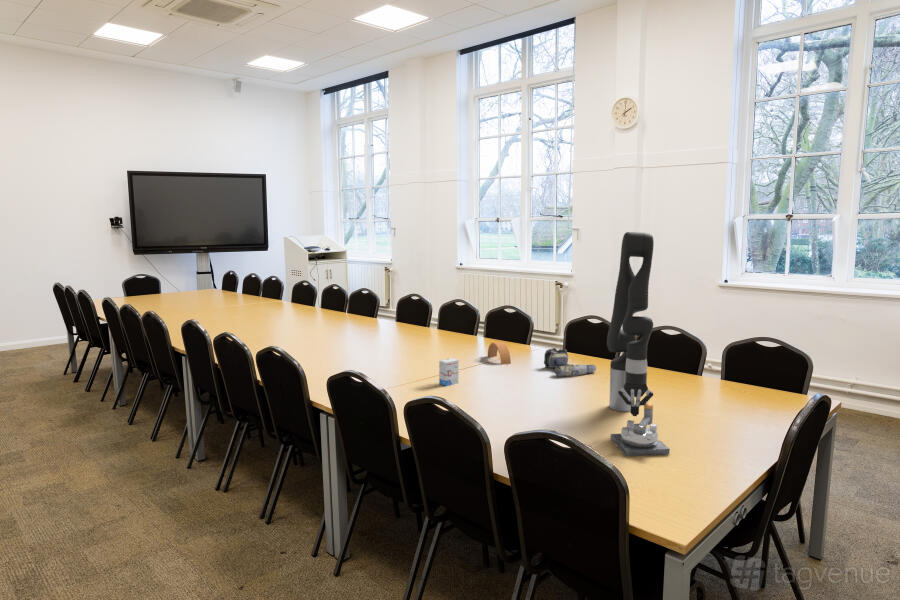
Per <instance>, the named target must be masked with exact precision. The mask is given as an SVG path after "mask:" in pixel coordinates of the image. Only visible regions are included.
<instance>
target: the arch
mask: <svg viewBox="0 0 900 600" xmlns="http://www.w3.org/2000/svg"><path fill="white" fill-rule="evenodd" d="M498 354H499V359H500V365H509V364H512V363H511V361H512V360H511V354H510V350H509V348H508V346H507V344H506V343H505V342H503V341H496V342H491V343H490V344H489V346H488V348H487V357H489V358H491V357H497V356H498Z"/></svg>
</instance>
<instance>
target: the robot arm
mask: <svg viewBox="0 0 900 600" xmlns="http://www.w3.org/2000/svg"><path fill="white" fill-rule="evenodd" d="M654 245H655V243H654V236H653V234H651V233H650V232H637V231H626V232H625V233H624V234H623V236H622V241H621V247H620V248H621V250H620V258H619V259H620V261H619V262H620V263H619V272H618V276H617V281H616V287H615V291H614V300H613V302H614V303H613V310H612V314H611V315H612V316H611V320H610V324H609V328H608V332H607V336H606V337H607V338H606V347H607V349H608V351H609V352H611V353H622V354H620V356H617V357H615V358H613V359H611V360H610V368H609V369H610V370H609V371H610V372H609V373H610V374H609V404H608V405H609V409H610V410H613V411H616V412H630V414H631V415H632V417H638V415H639V414H640V407H641V406H643V407H644V405H645V404H646V403H648V401H649V400H651V398H652V397H653V396H654V392H653V391H652V390H650V389H649V388H648V385H647V384H648V383H647V380H648V360H647V359H648V345H649V342H650V338H651V335H652V333H653V329H654V322H653V319H652V318H651V317H649V316H636V315H635V314H636V313H639V312H644V311H647V309H648V308H649V284H650V277H651V271H652V269H651V268H652V264H653V263H652V261H653V254H654ZM631 257H634V258H642V263H641V265H640V268H639V270H638V271H637V272H636V274H635V273H634V271H633V268H632V266H631V262H630V258H631ZM634 315H635V316H634ZM637 337H641V338H640V339H638V340H637ZM644 395H645V396H644ZM643 396H644V397H643ZM642 397H643V398H642ZM641 398H642V399H641Z"/></svg>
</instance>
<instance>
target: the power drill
mask: <svg viewBox="0 0 900 600" xmlns="http://www.w3.org/2000/svg"><path fill="white" fill-rule="evenodd" d="M543 360H544V361H543V364H544V367H545V368H551V369H554V373H555V375H556V376H557V377H558V378H561V377H565V378H566V377H575V376H582V375H587V374H591V373H594V372H596V371H597V366H596V365H594V364H574V363H568V362H569V354H568V350H567V349H564V348H562V349H561V348H560V349H558V350H557V348H556V347H553V348H550V349H549V348H548V349H547V350H545V352H544V358H543Z"/></svg>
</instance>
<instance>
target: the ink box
mask: <svg viewBox="0 0 900 600" xmlns="http://www.w3.org/2000/svg"><path fill="white" fill-rule="evenodd" d="M438 363H439V365H438V367H439V368H438V369H439V371H438V372H439V376H438V378H439V385H441V386H445V387H448V386H452V385H455V384H459V374H460V373H459V369H460V367H459V359H457V358H454V357H449V358H445V359H441V360H439V361H438Z"/></svg>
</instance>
